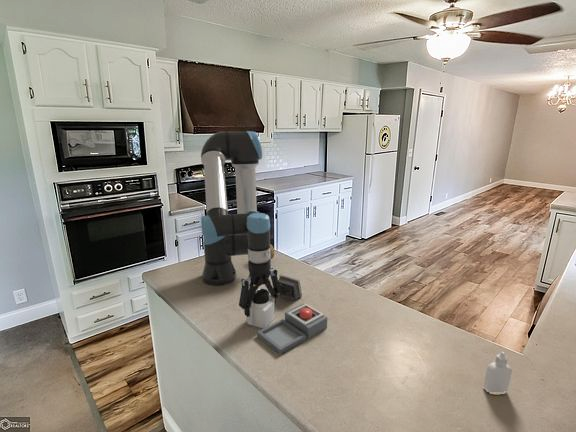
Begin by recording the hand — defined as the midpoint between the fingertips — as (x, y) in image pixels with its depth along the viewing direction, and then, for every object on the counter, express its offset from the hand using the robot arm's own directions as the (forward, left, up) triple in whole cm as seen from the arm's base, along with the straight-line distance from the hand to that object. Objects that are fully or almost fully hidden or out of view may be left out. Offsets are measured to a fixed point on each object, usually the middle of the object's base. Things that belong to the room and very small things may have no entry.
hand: (261, 317), depth 116 cm
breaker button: (+12, +11, +1) cm, 16 cm away
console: (+12, +5, -1) cm, 13 cm away
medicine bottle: (0, 0, -2) cm, 2 cm away
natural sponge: (-40, +33, -2) cm, 52 cm away
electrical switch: (-6, +19, -2) cm, 20 cm away
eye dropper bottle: (+66, +28, -2) cm, 72 cm away
